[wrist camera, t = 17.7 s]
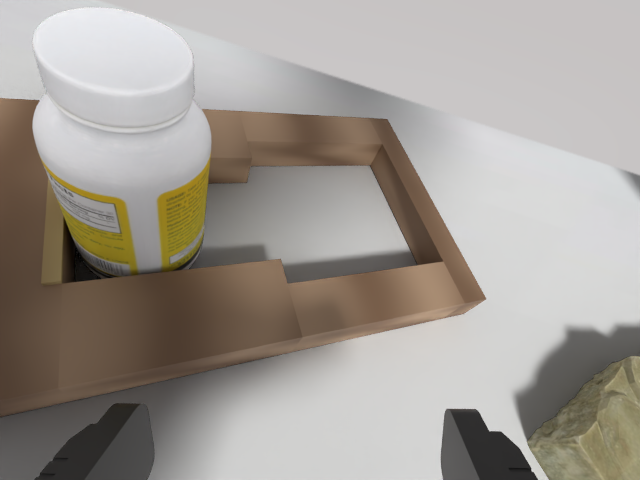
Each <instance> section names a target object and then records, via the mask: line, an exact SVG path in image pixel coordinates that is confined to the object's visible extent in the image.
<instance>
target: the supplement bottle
mask: <svg viewBox="0 0 640 480" xmlns="http://www.w3.org/2000/svg"><path fill="white" fill-rule="evenodd" d="M32 46H33V51H34V55H35V58H36V62H37V65H38V69H39V72H40V75H41V79H42V82H43V85H44V87H45V89H46V92H47V93H46V94H45V95H44V96H43V97H42V98H41V100H40V101H39V103H38V105H37V106H36V109H35V112H34V116H33V125H32V128H33V135H34V139H35V143H36V147H37V150H38V153H39V156H40V158H41V161H42V163H43V165H44V168H45V170H46V173H47V175H48V178H49V180H50V183H51V185H52V188H53V190H54V193H55V195H56V198H57V201H58V203H59V205H60V208H61V210H62V213H63V215H64V218H65V220H66V223H67V226H68V228H69V230H70V233H71V235H72V238H73V240H74V243H75V245H76V247H77V250H78V252H79V254H80V256H81V258H82V260H83V261H84V263H85V264H86V265H87V267H88V268H89V269H90V270H91V271H92V272H93V273H95V274H96V275H97V276H99V277H100V278H102V279H107V278H116V277H125V276H133V275H142V274H151V273H160V272H169V271H178V270H187V269H188V268H189V267H190V266H191V265H192V264H193V263H194V262H195V260H196V258H197V257H198V255H199V253H200V250H201V247H202V243H203V236H204V224H205V210H206V198H207V188H208V176H209V168H210V158H211V131H210V126H209V124H208V121H207V118H206V116H205V114H204V112H203V111H202V109H201V108H200V106H199V105H198V104H197V103H196V101H195V100H194V99H193V96H194V57H193V53H192V51H191V49H190V47H189V45H188V44H187V42H186V41H185V40H184V39H183V38H182V37H181V36H180V35H179V34H178V33H177V32H175V31H174V30H173V29H171V28H170V27H168V26H166V25H165V24H163V23H161V22H159V21H157V20H154V19H152V18H149V17H147V16H144V15H141V14H138V13H134V12H130V11H125V10H120V9H113V8H103V7H86V8H76V9H70V10H66V11H62V12H59V13H57V14H54V15H52V16H50V17H48V18H47V19H45V20H44V21H43V22H41V23H40V24H39V26H38V27H37V28H36V30H35V31H34V34H33V38H32Z"/></svg>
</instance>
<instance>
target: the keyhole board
mask: <svg viewBox="0 0 640 480" xmlns="http://www.w3.org/2000/svg"><path fill="white" fill-rule="evenodd" d="M39 101H40V100H24V99H5V98H0V417H3V416H7V415H12V414H16V413H21V412H25V411H30V410H34V409H39V408H43V407H48V406H52V405H57V404H61V403H66V402H70V401H75V400H79V399H84V398H88V397H92V396H97V395H101V394H106V393H110V392H115V391H119V390H124V389H128V388H133V387H137V386H142V385H146V384H151V383H155V382H160V381H164V380H169V379H173V378H178V377H182V376H187V375H191V374H196V373H200V372H205V371H209V370H214V369H218V368H223V367H227V366H232V365H236V364H241V363H245V362H250V361H254V360H258V359H263V358H267V357H272V356H276V355H281V354H285V353H290V352H294V351H299V350H303V349H308V348H312V347H317V346H321V345H326V344H330V343H335V342H339V341H344V340H348V339H353V338H357V337H362V336H366V335H371V334H375V333H380V332H384V331H389V330H393V329H398V328H402V327H407V326H411V325H416V324H420V323H424V322H429V321H433V320H438V319H442V318H447V317H451V316H456V315H460V314H464V313H466V312H467V311H469V310H470V309H472V308H473V307H475V306H476V305H478V304H479V303H481V302H483V301H484V300H486V297H485V296H484V294H483V292H482V290H481V288H480V287H479V285H478V283H477V281H476V279H475V278H474V276H473V274H472V272H471V270H470V268H469V267H468V265H467V263H466V261H465V259H464V258H463V256H462V254H461V252H460V250H459V248H458V247H457V245H456V243H455V241H454V239H453V238H452V236H451V234H450V232H449V230H448V229H447V227H446V225H445V223H444V221H443V219H442V218H441V216H440V214H439V212H438V210H437V209H436V207H435V205H434V203H433V201H432V200H431V198H430V196H429V194H428V192H427V190H426V189H425V187H424V185H423V183H422V181H421V180H420V178H419V176H418V174H417V172H416V170H415V169H414V167H413V165H412V163H411V161H410V160H409V158H408V156H407V154H406V152H405V151H404V149H403V147H402V145H401V143H400V141H399V140H398V138H397V136H396V134H395V132H394V131H393V129H392V127H391V125H390V123H389V122H388V120H387V119H375V118H356V117H338V116H319V115H301V114H282V113H264V112H245V111H227V110H208V109H202V111H203V112H204V114H205V116H206V118H207V121H208V124H209V126H210V131H211V158H210V168H209V176H208V183H247V180H248V175H249V171H250V166H343V165H370V166H371V168H372V170H373V172H374V174H375V176H376V179H377V181H378V183H379V185H380V187H381V189H382V191H383V193H384V195H385V197H386V199H387V202H388V204H389V206H390V208H391V210H392V212H393V214H394V216H395V218H396V220H397V222H398V224H399V227H400V229H401V231H402V233H403V235H404V237H405V239H406V241H407V243H408V245H409V247H410V250H411V252H412V254H413V256H414V258H415V260H416V262H417V264H418V265H416V266H409V267H402V268H395V269H388V270H381V271H374V272H367V273H360V274H353V275H346V276H339V277H332V278H325V279H318V280H311V281H304V282H297V283H290V284H288V283H287V280H286V276H285V273H284V269H283V265H282V262H281V259H275V260H266V261H257V262H249V263H240V264H231V265H222V266H213V267H204V268H195V269H187V270H178V271H169V272H160V273H151V274H142V275H133V276H125V277H116V278H107V279H98V280H89V281H80V282H74V278H75V243H74V240H73V238H72V235H71V233H70V230H69V228H68V226H67V223H66V220H65V218H64V215H63V213H62V210H61V208H60V205H59V203H58V201H57V198H56V195H55V193H54V190H53V188H52V185H51V183H50V180H49V178H48V175H47V173H46V170H45V168H44V165H43V163H42V161H41V158H40V156H39V153H38V150H37V147H36V143H35V139H34V135H33V128H32V125H33V116H34V112H35V109H36V106H37V105H38V103H39Z"/></svg>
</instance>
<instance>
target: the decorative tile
mask: <svg viewBox="0 0 640 480" xmlns="http://www.w3.org/2000/svg"><path fill="white" fill-rule="evenodd" d="M527 443H528V446H529V448H530V450H531V452H532V453H533V455H534V456H535V458H536V460H537V461H538V463H539V464H540V466H541V468H542V469H543V471H544V472H545V474H546V475H547V477H548V479H549V480H640V356H630V357H626V358H625V359H623V360H621V361H619V362H613V363H611V364H609V365H608V367H607V368H606V369H605V370H603V371H602V372H600V373H599V374H595V375H594V377H593V379H592V380H590V381H588V382H587V383H585V384H584V386H583V387H582V388H581V389H580V391H579V392H578V394H577V395H576V397H575V398H574V399H572V400H570V401H569V402H568V404H567V405H566V406H564V407H562V408H561V409H560V410H559V411H558V413H557V416H556V417H555V418H553V419H551V420H549V421H546V422H544V423H543V425H542V427H540V428H538V429H536V430H535V432H534V433H533V435H532V436H531V437H530V439H529V440H528V441H527Z"/></svg>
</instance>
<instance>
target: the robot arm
mask: <svg viewBox="0 0 640 480" xmlns="http://www.w3.org/2000/svg"><path fill="white" fill-rule="evenodd" d="M153 461H154V444H153V438H152V432H151V426H150V420H149V413H148V409H147V406H146V405H145V404H119V403H117V404H114V405H112V406H111V407H110V408H109V410H108V411H107V412H106V413H105V414H104V416H103V417H102V418H101V419H100V421H99V422H98V423H97V424H90V425H89V426H87V427H86V428H85V429H83V430H82V431H80V432H79V433H78V434H76V435H75V436H73V437H72V438H71V439H69V440H68V442H67V443H66V444H65V445H64V446H63V447H62V449H61V450H60V451H59V452H58V453H57V454H56V455H55V457H54V459H53V461H50V462H49V463H48V465H47V466H46V467H45V468H44V469H43V470H42V471H41V473H40V476H39V477H36V478H35V480H147V479H148V477H149V475H150V472H151V469H152V466H153ZM441 469H442V475H443V480H538V479H537V477H536V476H535V474H534V472H532V471H531V467H530V465H529V464H528V462H527V460H526V459H525V457H524V455H523V454H522V452H521V450H520V449H519V448H518V447H517V446H516V445H515V444H514V443H513V442H512V441H511V440H510V439H509V438H507V437H506V436H505V435H504V434H503V433H502V432H496V431H489V430H488V428H487V426H486V425H485V423H484V421H483V419H482V417H481V415H480V413H479V412H478V411H477V410H476V409H446V411H445V415H444V426H443V437H442V448H441Z"/></svg>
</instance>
